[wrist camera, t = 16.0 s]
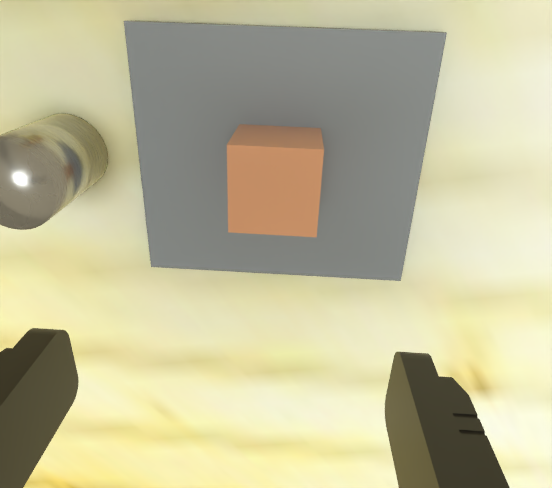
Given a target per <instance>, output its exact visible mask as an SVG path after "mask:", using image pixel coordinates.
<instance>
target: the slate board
mask: <svg viewBox="0 0 552 488" xmlns="http://www.w3.org/2000/svg"><path fill="white" fill-rule="evenodd" d="M124 26H125V35H126V44H127V53H128V62H129V71H130V80H131V89H132V98H133V107H134V116H135V125H136V134H137V143H138V152H139V161H140V170H141V179H142V188H143V197H144V206H145V215H146V224H147V233H148V242H149V251H150V260H151V267H163V268H181V269H199V270H217V271H235V272H252V273H270V274H288V275H306V276H324V277H342V278H360V279H377V280H395V281H401V276H402V270H403V265H404V259H405V254H406V249H407V243H408V238H409V233H410V227H411V222H412V216H413V211H414V206H415V200H416V195H417V190H418V184H419V179H420V173H421V168H422V163H423V157H424V152H425V147H426V141H427V136H428V130H429V125H430V120H431V114H432V109H433V104H434V98H435V93H436V87H437V82H438V77H439V71H440V66H441V61H442V55H443V50H444V44H445V39H446V34H447V33H446V32H425V31H397V30H369V29H341V28H314V27H286V26H258V25H230V24H202V23H175V22H147V21H124ZM239 124H247V125H268V126H289V127H310V128H321V132H322V139H323V146H324V157H323V168H322V180H321V192H320V204H319V215H318V227H317V237H302V236H284V235H266V234H248V233H230V232H228V189H227V144H228V142H229V140H230V139H231V137H232V135H233V134H234V132H235V131H236V129H237V127H238V126H239Z"/></svg>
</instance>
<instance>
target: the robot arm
mask: <svg viewBox="0 0 552 488" xmlns="http://www.w3.org/2000/svg"><path fill="white" fill-rule="evenodd" d="M77 389H78V374H77V370H76V365H75V361H74V356H73V352H72V347H71V343H70V338H69V335H68V333H67V332H66V331H65V330H54V329H38V328H33V329H30V330H29V331H28V332H27V333H26V334H25V335H24V336H23V337H22V338H21V340H20V341H19V342H18V343H17V344H16V345H15V346H14V348H13V349H12V348H6V349H4V350H3V351H1V352H0V488H23V487H24V485H25V483H26V482H27V480H28V478H29V477H30V475H31V473H32V472H33V470H34V468H35V467H36V465H37V463H38V461H39V460H40V458H41V456H42V455H43V453H44V451H45V450H46V448H47V446H48V444H49V443H50V441H51V439H52V438H53V436H54V434H55V433H56V431H57V429H58V428H59V426H60V424H61V422H62V421H63V419H64V417H65V416H66V414H67V412H68V411H69V409H70V407H71V406H72V404H73V402H74V400H75V397H76V394H77ZM385 420H386V427H387V432H388V436H389V441H390V446H391V451H392V456H393V461H394V465H395V470H396V475H397V480H398V485H399V488H509V485H508V483H507V481H506V479H505V476H504V474H503V472H502V470H501V467H500V465H499V463H498V461H497V458H496V456H495V454H494V451H493V449H492V447H491V445H490V442H489V440H488V438H487V436H485V433H484V432H485V431H484V429H483V426H482V424H481V422H480V420H479V419H478V418H477V413H476V411H475V408H474V406H473V404H472V402H471V399H470V397H469V395H468V394H467V393H466V392H465V391H464V390H463V388H462V387H461V386H460V385H459V384H458V383H457V382H456V381H455V380H454V379H453V378H452V377H439V376H438V374H437V371H436V368H435V366H434V363H433V361H432V358H431V356H430V355H429V354H426V353H410V352H396V353H395V356H394V360H393V364H392V369H391V374H390V379H389V384H388V389H387V394H386V400H385Z"/></svg>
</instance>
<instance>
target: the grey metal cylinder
mask: <svg viewBox="0 0 552 488" xmlns="http://www.w3.org/2000/svg"><path fill="white" fill-rule="evenodd" d="M107 164H108V153H107V148H106V145H105V143H104V141H103V139H102V137H101V135H100V134H99V133H98V131H97V130H96V129H95V128H94V127H93V126H92V125H91V124H90V123H88V122H87V121H85V120H84V119H82V118H80V117H77V116H75V115H71V114H64V113H62V114H54V115H51V116H48V117H46V118H43V119H41V120H38V121H35V122H33V123H30V124H28V125H25V126H22V127H20V128H17V129H15V130H12V131H9V132H7V133H4V134H2V135H0V225H3V226H5V227H8V228H13V229H20V230H22V229H32V228H36V227H38V226H40V225H42V224H43V223H45V222H46V221H48V220H49V219H50V218H51V217H53V216H54V215H55V214H56V213H58V212H59V211H60V210H61V209H63V208H64V207H65V206H67V205H68V204H69V203H70V202H72V201H73V200H74V199H75V198H77V197H78V196H79V195H80V194H82V193H83V192H84V191H86V190H87V189H88V188H89V187H91V186H92V185H93V184H94V183H96V182H97V181H98V180H99V179H100V178H101V177H102V176H103V174H104V173H105V171H106V168H107Z"/></svg>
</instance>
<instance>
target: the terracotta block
mask: <svg viewBox="0 0 552 488" xmlns="http://www.w3.org/2000/svg"><path fill="white" fill-rule="evenodd" d="M323 157H324V146H323V139H322V132H321V128H310V127H289V126H268V125H247V124H239V126H238V127H237V129H236V131H235V132H234V134H233V135H232V137H231V139H230V140H229V142H228V144H227V189H228V232H230V233H248V234H266V235H284V236H302V237H317V227H318V215H319V204H320V192H321V180H322V168H323Z"/></svg>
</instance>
